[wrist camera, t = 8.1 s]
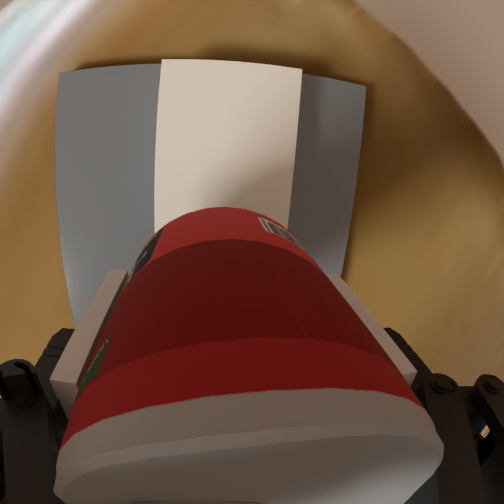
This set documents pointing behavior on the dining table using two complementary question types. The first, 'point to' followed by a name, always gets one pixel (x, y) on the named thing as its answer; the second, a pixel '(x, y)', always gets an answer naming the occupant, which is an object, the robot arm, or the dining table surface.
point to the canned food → (240, 382)
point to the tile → (225, 137)
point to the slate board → (143, 170)
